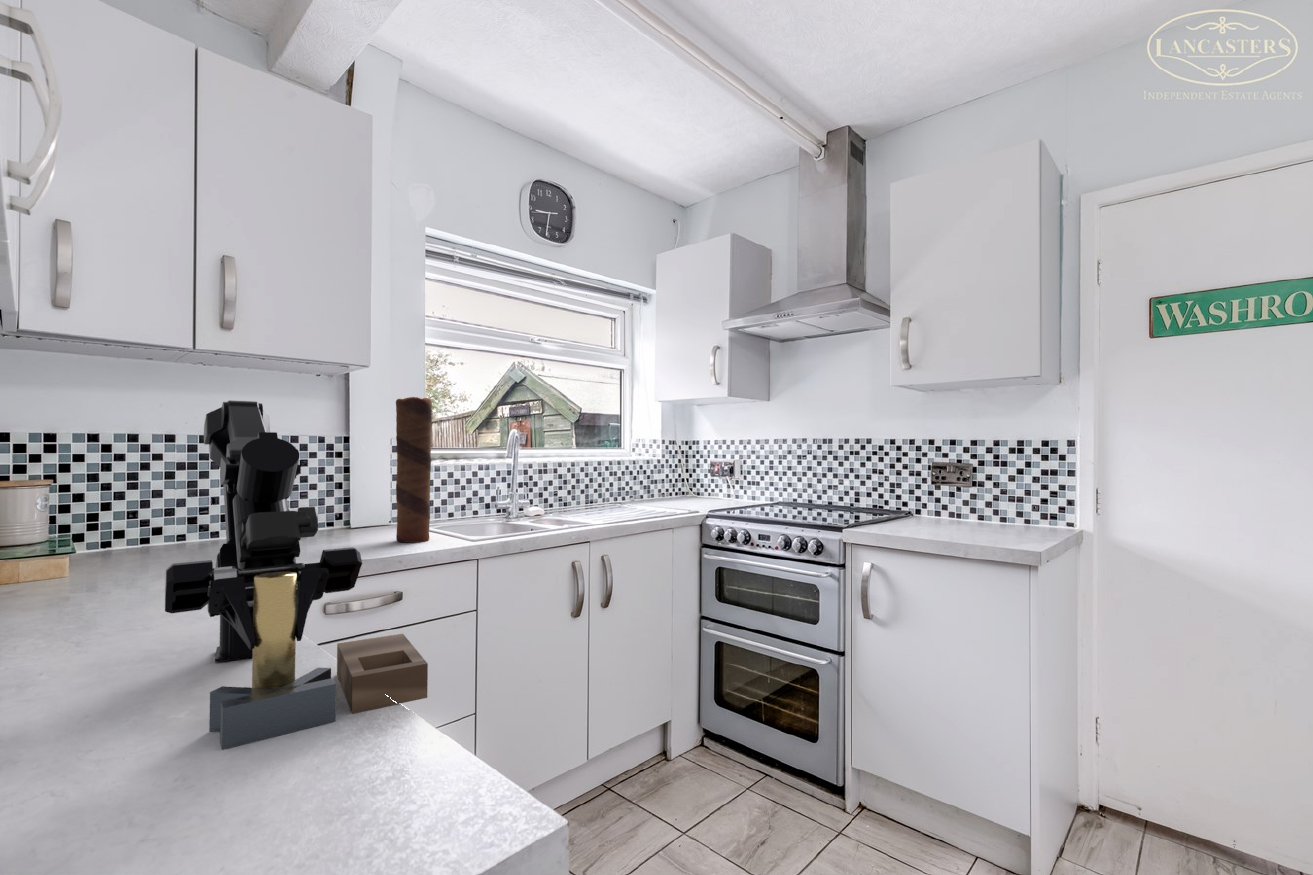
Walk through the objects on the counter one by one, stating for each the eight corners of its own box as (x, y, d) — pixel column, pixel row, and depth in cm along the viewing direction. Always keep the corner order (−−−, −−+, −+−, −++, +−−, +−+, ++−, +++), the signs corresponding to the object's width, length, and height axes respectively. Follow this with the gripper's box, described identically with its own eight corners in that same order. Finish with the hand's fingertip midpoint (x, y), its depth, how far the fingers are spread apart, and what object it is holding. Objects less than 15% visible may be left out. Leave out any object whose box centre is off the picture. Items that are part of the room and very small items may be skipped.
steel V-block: (208, 727, 65) (209, 688, 65) (328, 699, 72) (328, 665, 72) (213, 751, 60) (214, 709, 60) (342, 719, 67) (342, 682, 67)
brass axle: (261, 698, 69) (263, 572, 69) (300, 695, 70) (302, 571, 70) (244, 713, 65) (247, 579, 66) (286, 710, 66) (288, 578, 66)
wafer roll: (416, 544, 189) (418, 396, 190) (388, 542, 192) (389, 396, 193) (438, 539, 199) (440, 398, 200) (410, 537, 202) (412, 399, 203)
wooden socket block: (336, 674, 80) (337, 643, 80) (402, 663, 85) (402, 633, 85) (352, 713, 69) (352, 676, 69) (427, 697, 73) (427, 663, 73)
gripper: (167, 487, 65) (168, 615, 56) (359, 481, 77) (384, 587, 68) (164, 552, 71) (165, 677, 62) (342, 537, 83) (363, 641, 74)
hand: (276, 642), depth 67 cm, fingers closed on brass axle, 4 cm apart
